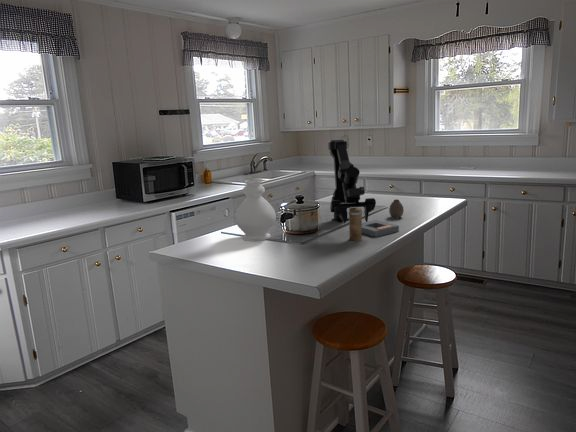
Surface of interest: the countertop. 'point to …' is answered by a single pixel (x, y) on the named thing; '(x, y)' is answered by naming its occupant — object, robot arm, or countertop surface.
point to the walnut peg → (355, 224)
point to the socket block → (378, 228)
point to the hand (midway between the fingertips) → (355, 222)
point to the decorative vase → (255, 213)
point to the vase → (396, 209)
